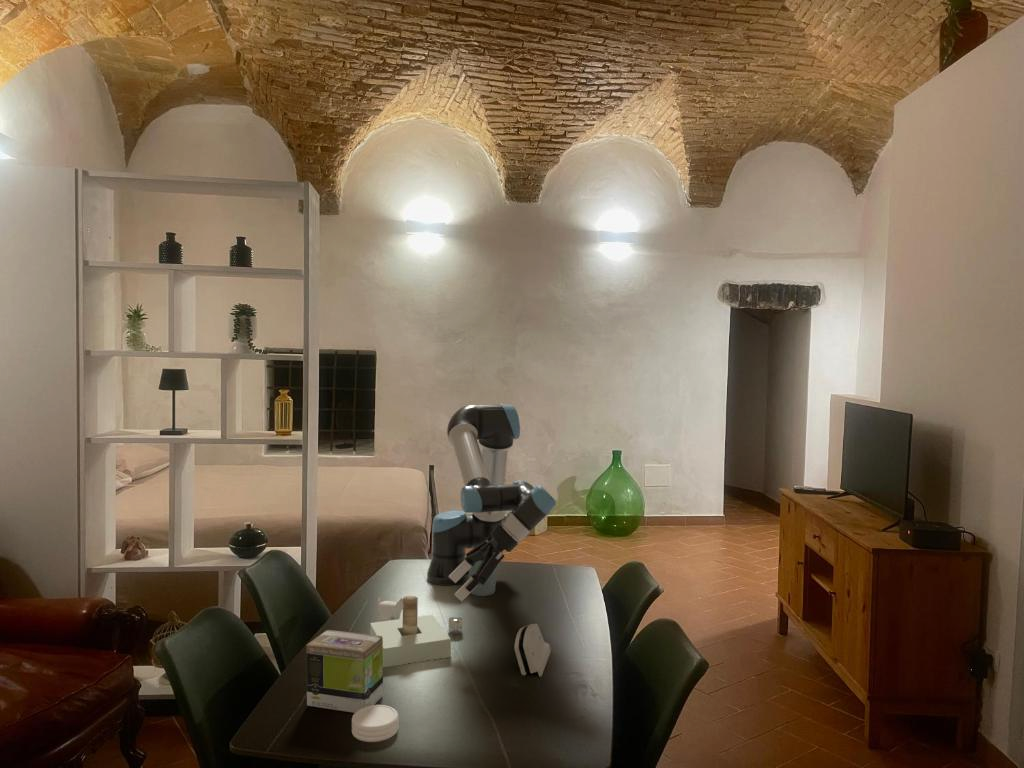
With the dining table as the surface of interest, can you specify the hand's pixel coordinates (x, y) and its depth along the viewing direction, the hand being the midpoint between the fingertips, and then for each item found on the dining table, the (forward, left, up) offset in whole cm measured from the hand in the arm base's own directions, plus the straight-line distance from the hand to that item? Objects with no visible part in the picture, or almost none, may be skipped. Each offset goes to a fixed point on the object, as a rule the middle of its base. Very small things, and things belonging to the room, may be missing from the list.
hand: (454, 588), depth 203 cm
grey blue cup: (-39, +22, -16) cm, 47 cm away
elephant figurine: (-24, -13, -16) cm, 32 cm away
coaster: (+35, -29, -17) cm, 49 cm away
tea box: (+20, -33, -16) cm, 42 cm away
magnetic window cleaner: (+16, +16, -17) cm, 28 cm away
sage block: (-3, -12, -16) cm, 20 cm away
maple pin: (-3, -12, -16) cm, 20 cm away
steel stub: (-9, +3, -16) cm, 19 cm away
